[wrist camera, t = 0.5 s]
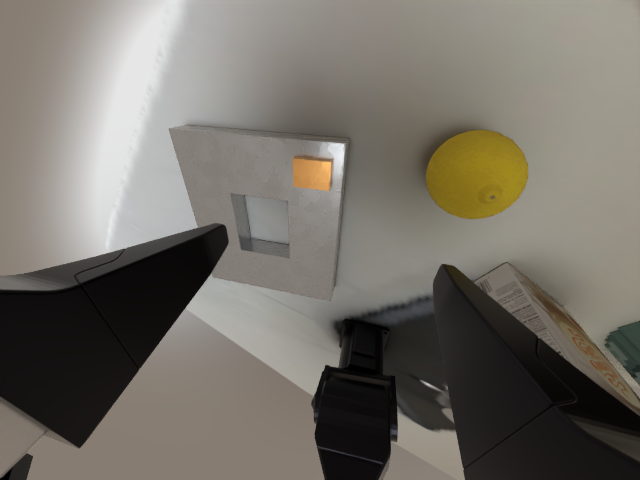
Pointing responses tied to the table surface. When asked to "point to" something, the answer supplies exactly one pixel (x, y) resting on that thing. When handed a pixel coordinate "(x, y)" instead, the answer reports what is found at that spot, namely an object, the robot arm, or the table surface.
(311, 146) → the socket plate
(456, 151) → the lemon
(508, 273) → the coffee box
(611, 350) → the can
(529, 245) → the table surface
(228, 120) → the table surface
